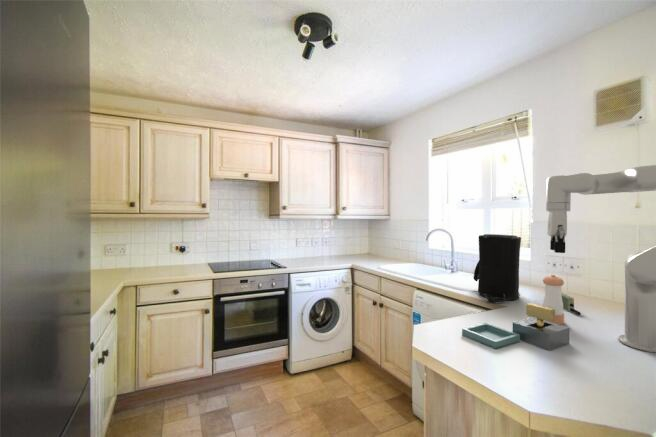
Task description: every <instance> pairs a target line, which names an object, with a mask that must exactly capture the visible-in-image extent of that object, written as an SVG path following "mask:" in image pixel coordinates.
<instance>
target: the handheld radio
mask: <svg viewBox="0 0 656 437" xmlns="http://www.w3.org/2000/svg"><path fill="white" fill-rule="evenodd" d="M561 296H562V302H563V310H565V311H567V312H569V313H573V314H576V315H578V316H581V315H582V313H581V311H578V310H576V309H575V298H574V297H573V296H570V295H568V294H565V293H563V292H561Z"/></svg>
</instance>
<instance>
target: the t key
mask: <svg viewBox="0 0 656 437" xmlns="http://www.w3.org/2000/svg"><path fill="white" fill-rule="evenodd" d="M525 306H526V311H525V313H526V314H525V315H526V316H529V317H530V318H531V317H533V318H537V328H538V329H540V328H544V320H545V321H549V322H553V321H555V309H552V308H548V307H544V306H543V305H539V304H535V303H532V302H529V303H525Z"/></svg>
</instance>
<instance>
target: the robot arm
mask: <svg viewBox="0 0 656 437" xmlns="http://www.w3.org/2000/svg"><path fill="white" fill-rule="evenodd" d="M652 191H653V192H654V191H656V164H655V165H654V164H652V165H642V166H636V167H635V166H634V167H631V168H628V169H625V170H622V171H617V172H610V173H599V174H591V173H588V172H581V173H577V174H576V173H574V174H571V175H570V174H568V175H565V174H564V175H563V174H562V175H553V176H549V177H547V179H546V199H545V200H546V202H545V203H546V204H545V206H546V207H545V208H546V210H545V212H548V219H547V235H548V236H549V237H550V242H549V243H550V246H549V247H550V248H549V249H550V250H551V251H554V253H556V254H557V253H559V254H565V253H566V236H567V234H568V233H567V232H568V230H567V229H568V212H571V207H572V206H571V201H572V199H571V198H572V196H571V195H572V194H580V195H585V196H586V195H587V196H588V195H601V194H603V195H605V194H615V193H616V194H618V193H642V192H652ZM617 340H618V341H619V342H620V343H622V344H623V345H626V346H628V347H629V348H634V349H636V350H641V351H644V352H649V353H656V245H655V246H652V247H650V248H648V249H646V250H641V251H636V252H633V253H631V254H629V255H628V256H627V258H626V259H625V261H624V334H621V335H619V336H618V338H617Z"/></svg>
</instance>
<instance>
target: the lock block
mask: <svg viewBox="0 0 656 437" xmlns="http://www.w3.org/2000/svg"><path fill="white" fill-rule="evenodd" d="M512 332H513V333H516V334H519V335H520V342H521V341H522V342H523V343H527V344H529V345H532V346H534V347H537V348H540V349H543V350H546V351H548V350H549V351H548V352H550V351H554V350H556V349H559V348H562V347H564V346H568V345H570V327H569V326H565V325H562V324H554V323H551V322H547V321H544V328H540V329H538V328H537V318H535V317H531V316H530V317H528V318H524V319H521V320H515V321H512ZM553 349H554V350H553Z"/></svg>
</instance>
